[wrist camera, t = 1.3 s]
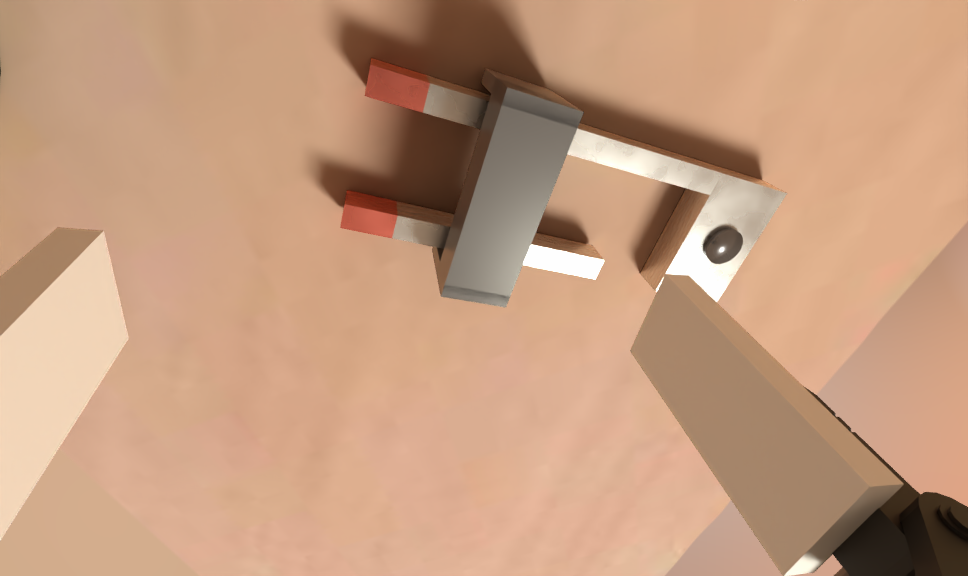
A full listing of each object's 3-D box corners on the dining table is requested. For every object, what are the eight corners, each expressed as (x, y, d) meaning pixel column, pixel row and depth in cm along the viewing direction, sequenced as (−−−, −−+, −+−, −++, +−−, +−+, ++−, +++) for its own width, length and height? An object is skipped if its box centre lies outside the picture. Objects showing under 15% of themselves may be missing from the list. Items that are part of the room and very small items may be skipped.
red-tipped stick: (592, 245, 34) (604, 260, 32) (583, 263, 35) (595, 279, 33) (346, 189, 29) (344, 204, 27) (342, 212, 30) (340, 227, 28)
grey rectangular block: (549, 89, 28) (584, 112, 23) (488, 260, 33) (505, 307, 29) (485, 68, 27) (507, 87, 22) (432, 249, 32) (440, 296, 28)
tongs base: (762, 180, 34) (791, 195, 32) (697, 285, 38) (719, 306, 36) (371, 57, 26) (370, 66, 23) (343, 210, 30) (339, 231, 28)
